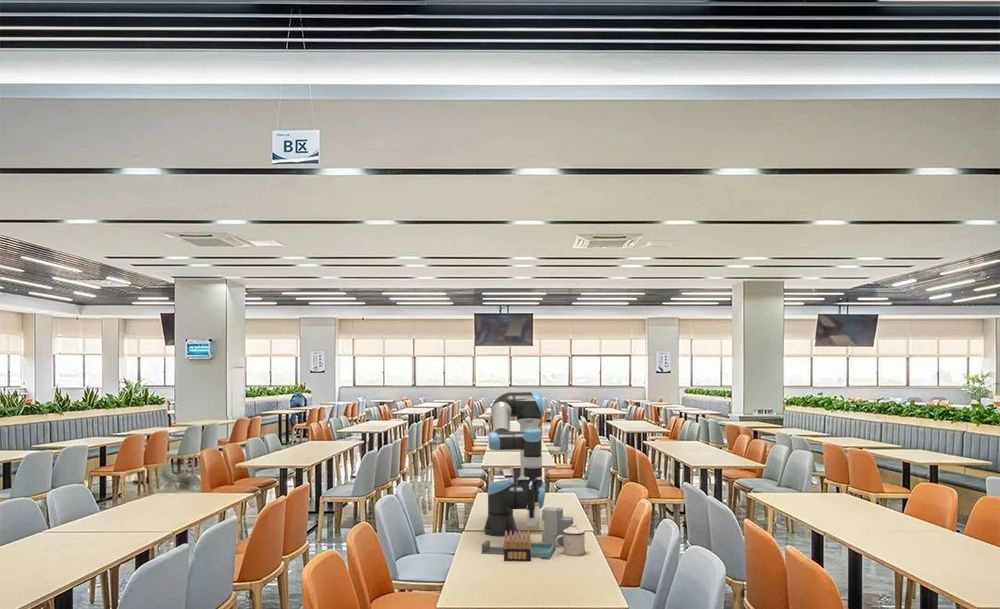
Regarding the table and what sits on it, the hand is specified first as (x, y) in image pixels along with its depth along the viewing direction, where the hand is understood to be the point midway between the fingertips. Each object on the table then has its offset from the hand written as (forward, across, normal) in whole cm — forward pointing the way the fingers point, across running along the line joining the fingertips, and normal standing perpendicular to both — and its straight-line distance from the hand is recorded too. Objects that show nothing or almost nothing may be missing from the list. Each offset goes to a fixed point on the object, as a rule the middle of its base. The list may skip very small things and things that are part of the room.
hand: (533, 524), depth 308 cm
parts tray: (+12, 0, 0) cm, 12 cm away
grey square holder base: (+12, 0, -16) cm, 20 cm away
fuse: (+1, 0, 0) cm, 1 cm away
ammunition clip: (+12, +13, -4) cm, 18 cm away
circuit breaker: (+12, -17, +8) cm, 23 cm away
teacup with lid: (+12, -4, +15) cm, 19 cm away
